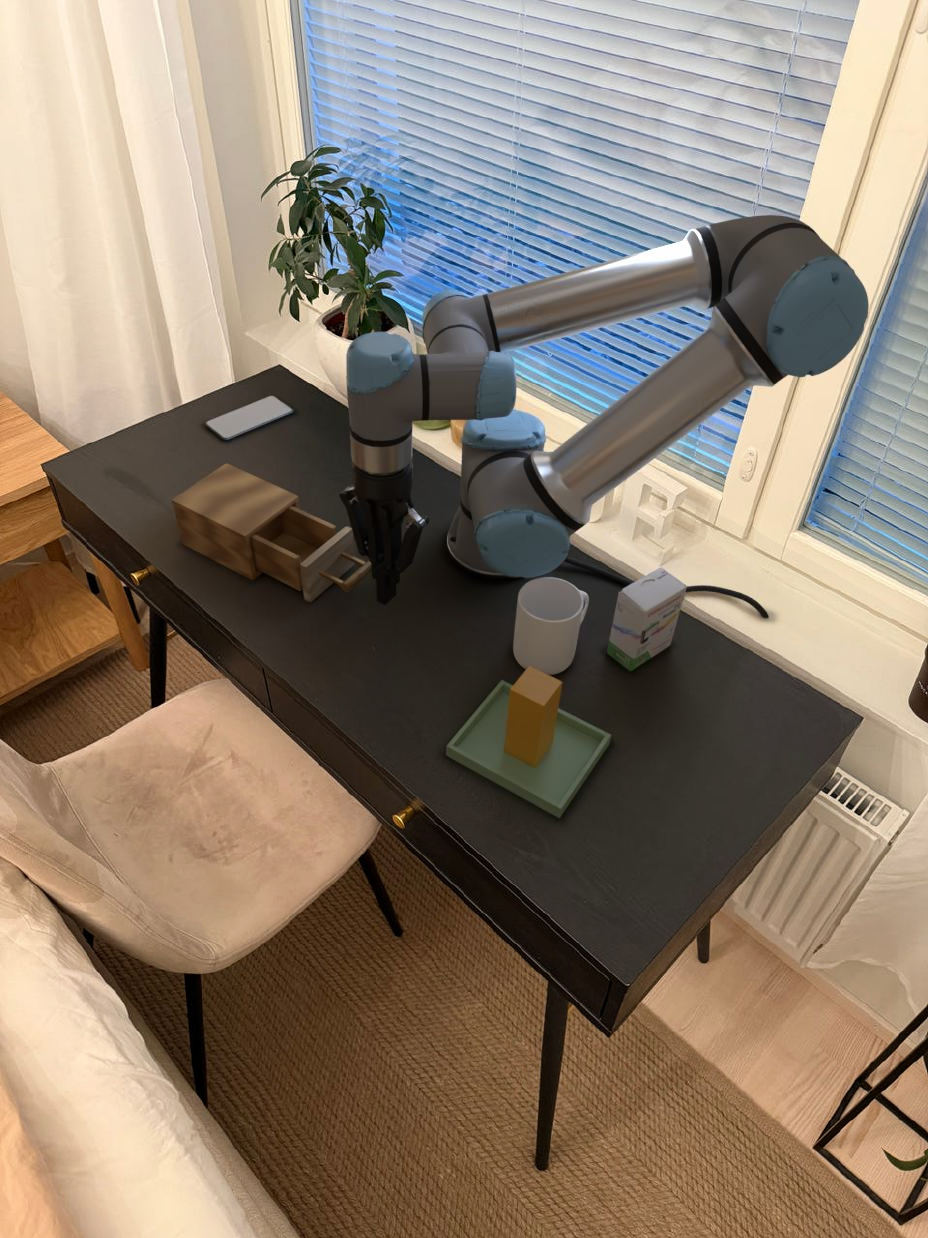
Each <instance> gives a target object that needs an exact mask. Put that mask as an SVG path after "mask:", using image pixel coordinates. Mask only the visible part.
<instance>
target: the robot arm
mask: <svg viewBox="0 0 928 1238" xmlns="http://www.w3.org/2000/svg"><path fill="white" fill-rule="evenodd" d="M691 305H693V306H695V307H697V308H698V309H700V310H702V311H705V310H708V309H712V310H711V317H710V322H709V325H708V327H707V328H706V329H705V330H704V331H702V332H701V333H700V334H699V335H697V336H696V337H695V338H694V339H692V340H691V341H690V342H688V343H687V344H686V345H685V346H684V347H682V348H681V349H680V350H678V351H677V352H676V353H674V355H672V356H671V357H670V358H669V359H667V360H666V361H665V362H663V363H662V364H661V365H660V366H659V367H657V368H655V370H653V371H652V372H650V373H649V374H648V375H647V376H646V377H644V378H643V379H642V380H641V381H639V382H638V383H637V384H636V385H634V386H633V387H632V388H631V389H629V390H628V391H627V392H626V393H625V394H623V395H622V396H620V397H619V398H618V399H617V400H615V401H613V403H612V404H611V405H609V406H608V407H607V408H605V409H604V410H603V411H601V413H599V414H598V415H597V416H596V417H594V418H593V419H592V420H591V421H589V422H587V424H586V425H584V426H583V427H581V428H580V429H579V430H578V431H577V432H575V433H574V434H572V435H571V436H570V437H569V438H568V439H567V440H565V441H564V442H563V443H562V444H560V445H559V446H558V447H556V448H555V449H554V450H553V451H544V450H545V444H546V442H547V437H546V427H545V425H544V423H543V421H542V420H541V419H540V418H538V417H537V416H535V415H533V414H531V413H529V412H526V411H522V410H519V409H515V405H516V402H517V401H516V400H517V384H518V383H517V370H516V364H515V360H514V358H513V356H512V355H511V354H509V353H510V352H513V351H517V350H520V349H524V348H528V347H531V346H536V345H539V344H544V343H548V342H552V341H556V340H558V339H563V338H567V337H571V336H574V335H579V334H583V333H587V332H591V331H595V330H597V329H601V328H605V327H609V326H613V325H618V324H620V323H621V324H622V323H626V322H628V321H632V320H636V319H640V318H641V319H642V318H644V317H648V316H652V315H656V314H659V313H664V312H668V311H671V310H674V309H675V310H676V309H679V308H683V307H687V306H691ZM869 305H870V303H869V297H868V293H867V289H866V288H865V285H864V284H863V281H862V280H861V279H860V277H859V276H858V274H857V273H856V271H855V270H854V269H853V268H852V266H851V265H850V264H849V263H848V261H847V260H845V259H844V258H842V257H841V256H840V255H839V254H838V253H837V252H836V251H834V249H833V248H831V247H830V245H828V244H827V242H825V241H824V240H823V239H822V238H821V237H820V235H819V234H818V233H817V232H816V231H815V230H814V229H813V228H812V227H811V226H810V225H808V224H807V223H805V222H804V221H802V220H799V219H797V218H794V217H790V216H786V215H776V214H764V215H761V214H760V215H752V216H746V217H739V218H732V219H728V220H724V221H719V222H714V223H710V224H707V225H704V226H700V227H696V228H693V229H690V230H688V232H687V233H686V235H685V237H684V238H683V240H681V241H678V242H674V243H671V244H667V245H663V246H660V247H657V248H652V249H649V250H644V251H641V252H637V253H634V254H629V255H626V256H622V257H618V258H614V259H611V260H608V261H604V262H599V263H596V264H592V265H589V266H585V267H582V268H578V269H574V270H570V271H567V272H563V273H559V274H556V275H552V276H548V277H544V278H541V279H536V280H533V281H530V282H525V283H522V284H518V285H515V286H510V287H507V288H503V289H500V290H496V291H493V292H488V293H484V294H480V295H477V296H472V297H471V296H470V295H469V294H467V293H465V292H463V291H460V290H457V289H456V290H455V289H445V290H442V291H439V292H438V293H436V294H434V295H433V296H432V297H431V298H430V299H429V300H428V301H427V302H426V304H425V306H424V308H423V311H422V316H421V321H422V326H421V329H422V334H421V336H422V340H423V343H424V344H425V350H426V353H423V354H420V353H414V351H413V346H412V345H411V343H410V341H409V340H408V339H406V338H405V337H404V336H402V335H400V334H398V333H393V334H390V333H389V332H387V331H373V332H369V333H365V334H362V335H359V336H358V337H356V338H354V339H353V341H352V342H351V343H350V344H349V346H348V348H347V350H346V357H345V359H346V361H345V363H346V371H345V372H346V377H345V379H346V395H347V396H346V397H347V408H348V420H349V440H350V441H349V442H350V457H351V472H352V473H351V474H352V484H350V485H349V486H347V487H346V488H345V489H343V490H342V491H341V492H340V493H338V497H339V498H340V500H341V502H342V504H343V506H344V507H345V509H346V512H347V516H348V520H349V523H350V528H352V531H353V539H354V541H355V545H356V548H357V552H358V555H360V556H361V557H365V556H366V557H367V558H368V561H370V563H371V564H372V570H371V576H372V579H373V580H375V589H376V592H375V593H376V602H377V603H379V604H381V605H383V606H387V605H388V604H389V603H390V602H391V601H392V600H393V599H395V597H396V596H397V594H398V593H397V590H398V589H397V586H398V584H399V583H400V582H401V574H403V573H404V572H405V571H406V570H407V569H408V568H409V567H410V566H411V565H412V564H413V563H414V560H415V557H416V553H417V549H418V546H419V543H420V540H421V537H422V533H423V530H424V528H425V527H426V526H427V525H428V524H429V523H430V518H429V516H427V515H426V514H423V515H421V516H420V515H419V514H418V512H417V511H416V510H415V509H414V506H415V505H414V500H413V498H412V496H411V493H412V488H413V484H414V463H413V423H414V422H421V421H422V422H424V421H425V422H426V421H465V423H464V424H463V428H462V434H461V435H462V436H461V437H460V443H461V465H460V466H461V469H460V494H459V506H458V508H457V511H456V513H455V515H454V517H453V519H452V522H451V524H450V526H449V528H448V532H447V535H446V536H447V538H446V550H447V554H448V557H449V558H450V559H451V561H452V562H453V563H454V564H455V565H456V566H457V567H458V568H459V569H460V570H462V571H464V572H465V573H467V574H469V575H472V576H473V577H477V578H480V579H481V578H482V579H486V580H493V581H494V580H495V581H499V580H501V581H503V580H512V579H517V578H524V579H531V578H538V577H541V576H543V575H546V574H548V573H551V572H552V571H554V570H556V569H557V568H558V567H560V566H562V564H563V563H564V562H565V563H568V564H571V565H573V566H576V567H579V568H581V569H583V570H587V571H589V572H593V573H595V574H598V575H601V576H604V577H607V578H609V579H611V580H614V581H616V582H619V583H620V584H623V585H626V586H628V585H630V584H632V583H634V582H636V581H635V580H632V579H629V578H626V577H625V576H622V575H619V574H617V573H614V572H612V571H609V570H607V569H605V568H602V567H599V566H596V565H594V564H590V563H588V562H585V561H583V560H580V559H577V558H574V557H571V556H568V555H569V550H570V546H571V536H572V535H574V534H575V533H576V532H578V531H579V530H580V529H582V528H583V527H584V526H586V525H587V524H588V523H589V522H590V520H591V514H592V507H593V505H594V504H595V503H597V502H599V501H600V500H601V499H602V498H603V497H605V496H606V495H607V494H609V493H610V492H612V491H613V490H614V489H616V488H617V487H618V486H620V485H622V484H623V483H624V482H625V481H627V480H628V479H629V478H631V477H632V476H633V475H634V474H636V473H637V472H638V471H640V470H641V469H643V468H644V467H645V466H646V465H648V464H649V463H650V462H652V461H654V460H655V459H656V458H658V456H660V455H661V454H663V453H664V452H665V451H667V450H668V449H669V448H671V447H672V446H673V445H674V444H676V443H677V442H679V441H681V439H683V438H684V437H686V436H687V435H688V434H689V433H690V432H692V431H693V430H695V429H696V428H698V427H699V426H701V424H703V423H704V422H706V421H707V420H708V419H709V418H711V417H712V416H713V415H715V414H716V413H717V412H719V411H720V410H722V409H723V408H724V407H725V406H727V405H728V404H729V403H731V402H732V401H733V400H735V399H736V398H737V397H739V396H740V395H741V394H743V393H744V392H745V391H746V390H748V389H749V388H751V387H755V386H756V387H757V386H758V387H769V388H773V387H775V386H776V385H777V384H778V383H779V382H781V381H782V380H783V379H785V378H786V377H788V376H792V377H795V378H796V377H797V378H806V376H811V377H815V376H819V375H821V374H823V373H826V372H827V371H829V370H831V369H833V368H835V366H837V365H838V364H840V363H841V362H842V361H843V360H844V359H845V358H846V357H847V356H848V355H849V354H850V353H852V351H853V349H854V348H855V347H856V345H857V344H858V342H859V341H860V338H861V337H862V335H863V334H864V331H865V324H866V322H867V320H868V317H869V311H870V309H869V307H870V306H869ZM508 352H509V353H508ZM405 517H406V525H405V526H404V527H405V532H404V534H403V537H402V531H403V530H402V525H403V524H404V520H405ZM686 586H687V588H686V592H685V594H687V593H696V592H706V593H707V592H708V593H715V594H721V595H724V596H729V597H732V598H736V599H738V600H741V601H743V602H745V603H747V604H749V605H750V606H751V607H753V608H754V610H756V611H757V612H758V613H759V615H760V617H762V618H764V619H768V618H770V616H769V613H768V612H767V610H766V609H765V608H764V607H763V606H762V605H761V604H760V603H759V602H758V601H757V600H756V599H754V598H753V597H751V596H749V595H747V594H744V593H743V592H739V591H737V590H733V589H728V588H725V587H721V586H715V585H708V584H707V585H703V584H700V585H690V586H689V585H686Z"/></svg>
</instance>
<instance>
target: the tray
mask: <svg viewBox="0 0 928 1238" xmlns="http://www.w3.org/2000/svg"><path fill="white" fill-rule="evenodd" d="M513 685H514V684H511V683H510V682H508V681H505V680H503V679H501V680H500V681H499V683H498V684H497V685H496V686H495V687H494V688H493V690H492V691H490V693H489V694H488V695H487V697H486V698H485V699H484V700H483V702H482V703H481V704H480V705H479V706H478V707H477V709H476V710H475V711H474V712H473V713H472V715H470V717H469V718H468V719H467V721H465V723H464V724H463V726H462V727H461V728H460V729H459V730H458V731H457V733H456V734H454V736H453V737H452V738H451V740H450V741H449V742H448V744H446V747H445V756H446V757H448V758H449V759H451V760H453V761H455V762H456V763H459V764H460V765H462V766H464V767H466V768H467V769H470V770H471V771H473V772H475V773H477V774H479V775H480V776H482V777H484V778H486V779H488V780H489V781H491V782H493V783H495V784H497V786H500V787H502V788H504V789H505V790H507V791H508V792H511V793H513V794H514V795H516V796H518V797H520V798H522V799H524V800H525V801H527V802H529V803H531V804H533V805H534V806H536V807H538V808H540V809H542V810H543V811H545V812H547V813H549V814H551V815H553V816H554V817H555V818H557V819H560V818H561V817H562V816H563V814H564V813H565V811H566V810H567V808H568V807H569V805H570V804H571V802H572V801H573V799H574V798H575V796H576V795H577V793H578V792H579V790H580V789H581V787H582V786H583V784H584V783H585V781H586V780H587V778H588V777H589V776H590V774H591V773H592V771H593V769H594V768H595V767H596V765H597V763H598V762H599V760H600V759H601V758H602V756H603V754H604V753H605V751H606V750H607V749H608V747H609V746H610V744H611V743H610V742H611V739H612V734H610V733H608V732H607V731H604V730H602V729H601V728H599V727H597V726H594V725H593V724H591V723H589V722H587V721H585V720H582V719H581V718H580V717H579V718H578V717H577V716H575V715H573V714H571V713H570V712H567V711H565V710H563V709H561V708H559V707H558V713H557V719H556V725H555V731H554V737H553V743H552V745H551V747H550V748H549V749H548V751H547V752H546V754H545V755H544V756H543V758H542V759H541V760H540V762H539V763H538V764H537V766H536V767H535V768H533V767H531V766H529V765H528V764H526V763H524V762H522V761H520V760H518V759H516V758H515V757H513V756H511V755H509V754H507V753H505V752H504V744H505V734H506V724H507V715H508V705H509V695H510V689H511V688H512V686H513Z"/></svg>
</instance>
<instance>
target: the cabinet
mask: <svg viewBox="0 0 928 1238" xmlns="http://www.w3.org/2000/svg"><path fill="white" fill-rule="evenodd" d="M171 503H172V508H173V512H174V517H175V520H176V524H177V527H178V531H179V535H180V536H179V537H180V540H181V543H182V545H184V546H185V547H187V548H189V549H191V550H193V551H195V552H197V553H198V554H201V555H203V556H204V557H206V558H208V559H210V560H212V561H214V562H216V563H218V564H220V565H222V566H224V567H226V568H227V569H230V570H232V571H234V572H235V573H237V574H239V575H241V576H243V577H245V578H247V579H249V580H251V581H255V580H256V579H257V578H259V576H261V575H262V574H264V573H263V572H261V571H259V570H257V569H255V566H254V561H253V555H252V550H251V544H250V539H249V537H251V536H252V535H253V534H255V533H256V532H257V531H259V530H260V529H261V528H262V527H264V526H265V525H266V524H268V523H269V522H270V521H272V520H273V519H274V518H276V517H277V516H278V515H280V514H281V513H282V512H284V511H285V510H286V509H288V508H289V507H290V506H291V505H292V506H294V507H296V508H298V509H300V508H301V507H300V499H299V495H297V494H295V493H292V492H290V491H288V490H286V489H284V488H281V486H278V485H275V484H274V483H271V482H269V481H266V480H264V479H262V478H260V477H258V476H256V475H253V474H251V473H249V472H247V471H246V470H245V471H244V470H243V469H240V468H238V467H236V466H235V465H232V464H229V463H228V462H227V463H225V464H223V465H222V466H220V467H219V468H217V469H216V470H214V471H212V472H211V473H210V474H208V475H207V476H205V477H204V478H202V479H200V480H199V481H197V482H196V483H195V484H194V485H192V486H190V487H189V488H188V489H186V490H185V491H183V492H181V493H180V494H178V495H177V496H175V497H174V498H172V499H171ZM300 510H301V509H300Z"/></svg>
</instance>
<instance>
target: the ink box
mask: <svg viewBox="0 0 928 1238" xmlns="http://www.w3.org/2000/svg"><path fill="white" fill-rule="evenodd" d="M687 586H688V585H687V584H685V583H684V582H682V581H681V580H680V579H678V578H677V577H676V576H674V575H673V574H672V573H670V572H669V571H668V570H666V569H665V568H663V567H659V568H657V569H655V570H653V571H651V572H649V573H648V574H646V575H644V576H642V577H641V578H639V579H637V580H636V581H635V582H634V583H632V584H630V585H626V586H625V587H623V588H622V590H620V591H618V595H617V599H616V605H615V609H614V615H613V619H612V624H611V629H610V634H609V638H608V643H607V646H606V647H607V649H606V654H607V655H608V656H610V657H611V658H612V659H614V661H616V662H617V663H618V664H620V665H621V666H622V667H623V668H625V669H626V670H627V671H629V672H632V671H634V670H635V669H636V668H638V667H640V666H641V665H642V664H644V663H645V662H647V661H649V660H651V659H652V658H653V657H655V656H656V655H658V654H659V653H661V652H662V651H664V650H666V649H667V648H668V647H670V646H671V644H672V640H673V637H674V634H675V630H676V628H677V627H676V626H677V624H678V620H679V615H680V612H681V608H682V606H683V602H684V600H685V599H684V598H685V595H686V593H685V592H686V588H687Z"/></svg>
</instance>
